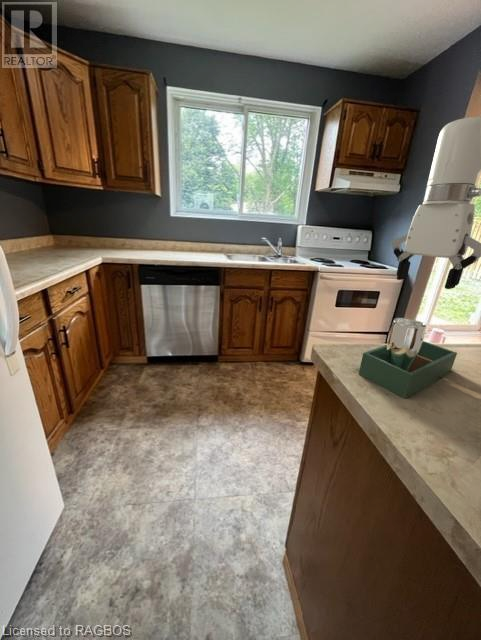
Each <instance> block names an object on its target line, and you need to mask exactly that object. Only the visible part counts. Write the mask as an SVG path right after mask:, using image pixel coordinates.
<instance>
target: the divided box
mask: <svg viewBox="0 0 481 640" xmlns="http://www.w3.org/2000/svg"><path fill="white" fill-rule="evenodd" d="M386 350H387V344H384V345H382V346H379V347H376V348H373V349H370V350H367V351H364V352H362V358H361V362H360V365H359V370H358V375H359V376H362V377H363V378H365V379H367V380H369V381H371V382H373V383H374V384H377V385H378V386H380V387H382V388H383V389H385V390H387V391H389V392H391V393H393V394H395V395H397V396H399V397H400V398H402V399H404V400H405V399H407V398H409V397H410V396H413V395H414V394H416V393H417V392H420V391H421V390H423V389H425V388H426V387H428V386H430V385H432V384H434V383H435V382H437V381H439V380H441V379H442V378H443V375H445V374H447V373H449V372H451V371H452V369H453V366H454V363H455V360H456V358H457V355H458V352H456V351H453V350H450V349H448V348H445V347H442V346H439V345H437V344H433V343H431V342H428V341H425V340H423V343H422V346H421V349H420V351H419V353H418V355H417V357H416V359H415V360H414V362H413V364H412V366H411V368H410V371H409V372H408V371H405V370H403V369H401V368H399V367H397V366H394V365H392V364H390V363H388V362H386Z"/></svg>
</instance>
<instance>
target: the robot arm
mask: <svg viewBox="0 0 481 640" xmlns="http://www.w3.org/2000/svg"><path fill="white" fill-rule="evenodd" d="M436 141H437V142H436V146H435V151H434V154H433V158H432V163H431V166H430V167H431V168H430V171H429V174H428V175H429V176H428V180H427V184H426V188H425V192H424V195H423V201H422V204H419V205H418V206H417V209H416V211H415V213H414V215H413V217H412V220H411V223H410V226H409V229H408V232H407V234H404V235H402V236H400V237H397V238H395V239H392V241H391V246H392V249H393V254H394V255H395V258H397V259H396V260H397V261H398V265H397V270H396V280H398V281H403V280H407V279H408V276H409V271H410V267H411V261H410V259H412V258H413V257H414V256H423V257H433V258H443V259H445V258H446V259H448V260H449V262H450V264H451V265H452V268H450V269H449V270H448V274H447V277H446V281H445V284H444V289H446V290H451V289H456V286H458V285H459V284H460V281H461V279H462V275H463V272H464V269H466V268H468V267H469V266H471V265H472V264H475V263H476V262H477V261H478V260H479V259H480V258H481V242H480V241H478V240H476V239H475V238H473V237H472V236H471V235H472V231H473V225H474V219H475V218H474V217H475V208H476V207H475V206H476V205H475V204H474V203H471V202H472V201H473V198H476V197H481V187H477V185H476V182H477V180H478V175H479V173H481V116H473V117H472V116H470V117H463V118H460V119H459V118H458V119H456V120H453V121H450V122H448V123H447V124H445V125H444V126H443V127H442V128H441V130H440V132H439V135H438V138H437V140H436ZM403 243H405V245H404V250H403V248H402V244H403ZM468 248H470V249H473V252H472V253H471V254H470V255H469V256H468V257H465V258H464V256H465V255H466V253H467V251H468Z"/></svg>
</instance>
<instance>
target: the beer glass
mask: <svg viewBox="0 0 481 640" xmlns="http://www.w3.org/2000/svg"><path fill="white" fill-rule="evenodd" d="M426 329H427V324H425V323H424V322H422V321H420V320H418V319H413V318H408V317H395V318H394V319H393V321H392V323H391V326H390V328H389V332H388V335H387V339H386V345H387V350H386V362H388V363H390V364H392V365H394V366H397V367H399V368H401V369H403V370H405V371H408V372H409V371H410V368H411V366H412V364H413V362H414V360H415V359H416V357H417V355H418V353H419V351H420V349H421V346H422V343H423V341H425V340H424V339H425V334H426Z"/></svg>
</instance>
